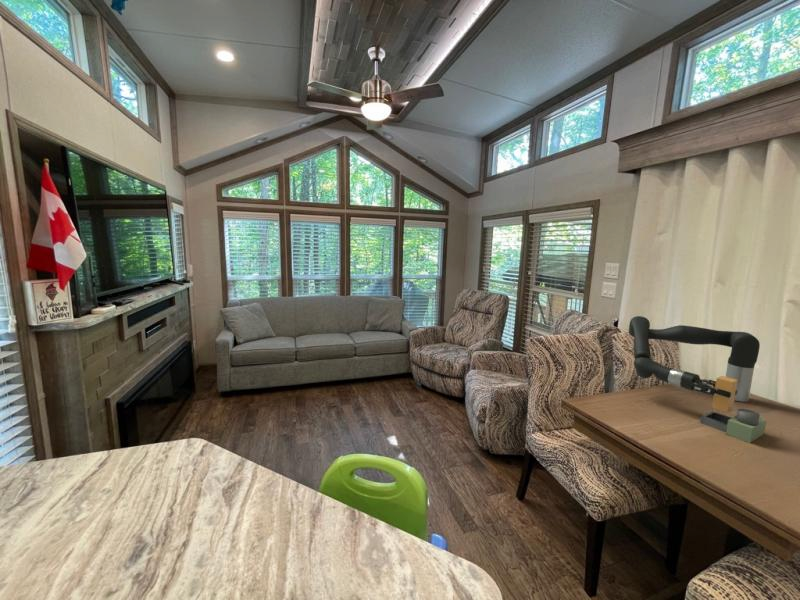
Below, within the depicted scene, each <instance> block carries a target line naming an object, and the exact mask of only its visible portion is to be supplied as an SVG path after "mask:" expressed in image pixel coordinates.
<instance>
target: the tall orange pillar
mask: <svg viewBox="0 0 800 600" xmlns="http://www.w3.org/2000/svg"><path fill="white" fill-rule="evenodd" d="M715 381H716V385H715V388H718V390H719V389H721V390H724V391H728V392H731V397H730V398H728V397H725V396H721V395H715V394H714V395H713V398H712V403H711V408H713V409H715V410H718V411H722V412H725V413H729V412H731V411H733V410H734V404H735V400H734V399H735V393H736V388H737V382H738V380H736V379H732V378H728V377H726V376H723V375H720V376H718V377H716V379H715Z"/></svg>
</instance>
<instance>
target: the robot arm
mask: <svg viewBox="0 0 800 600" xmlns="http://www.w3.org/2000/svg"><path fill="white" fill-rule="evenodd" d="M650 327H651V322H650V320H649V319H648V318H647V317H645V316H642V315H641V316H640V315H638V316H633V317H632V318H631V319H630V322H629V326H628V334H629V335H630V336H631V337H633V356H634V359H635V360H633V367H634V369H635V371H636V372H635V373H636V374H637V376H639V377H640V378H642V379H650V378H652V376H654V377H655V378H656V379H657V380H659V381H662V382H663V383H664V382H665V383H667V384H671V385H674V386H676V387H679V388H683V389H685V390H688V391H693V392H694V391H695V392H698V393H703V394H707V395H712V396H714V394H715V395H721V396H725V397H728V398H730V397H731V392H728V391H724V390H721V389H719V390H718V388H715V385H716V380H713V379H708V380H707V379H701V377H700V375H699V374H697V373H693V372H690V371H685V370H682V369H676V368H674V367H669V366H664V365H663V364H660V363H659V362H657V361H656V360H655V361H654V360H653V359H652V358H651V357H652V355H651V354H652V353H651V347H650V340H656V341H657V340H660V341H666V342H675V343H682V344H689V345H701V346H702V345H703V346H704V345H717V346H724V347H729V348H731V350H730V356H729V357H728V359H727V365H726V371H725V372H726V373H725V377H728V378H732V379H736V380H738V382H737V388H736V393H735V399H734V402H742V403H746V402H747V403H748V402H749V399H750V394H751V389H752V388H751V387H752V382H753V376H754V370H755V367H756V366H755V365H756V363H757V362H758V357H759V353H760V346H761V344H760V341H759V339H758V338H757V337H756V336H754V335H753V334H752V333H749V332H746V331H731V330H730V331H729V330H728V331H727V330H717V329H711V328H705V327H698V326H693V325H692V326H691V325H683V324H682V325H681V324H679V325H674V326H670V327H665V328H663V329H655V328H650Z"/></svg>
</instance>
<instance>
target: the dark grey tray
mask: <svg viewBox="0 0 800 600" xmlns="http://www.w3.org/2000/svg"><path fill="white" fill-rule="evenodd" d="M731 418H732V417H731V416H728V415H725V414H722V413H720V412H717V411H713V410H711V411H709V412H707V413H705V414H703V415H701V416H700V424H703V425H706V426H708V427H711V428H713V427H714V428H713V429H716V428H717V430H719V429H720V430H719V431H722V432H724V431H725V432H724V433H726V430H727V424H728V420H729V419H731ZM717 420H718V421H717ZM720 421H721V422H720Z"/></svg>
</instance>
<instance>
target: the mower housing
mask: <svg viewBox="0 0 800 600" xmlns="http://www.w3.org/2000/svg"><path fill="white" fill-rule="evenodd" d="M760 417H761V414H760V413H758V412H756V411H754V410H751V409H745V408H738V409H737V412H736V415H735V416H734V417H731V419H729V420H728V424H727V430H726V432H725V435H727V436H730V437H732V438H735V439H737V440H741V441H744V442H746V443H749V444H750V443H752V442H753V441H755V440H757V439H758V438H760V437H761V436H763V435H765V431H766V427H767V426H766V425H767V419H764V418H762V417H761V418H760Z"/></svg>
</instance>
